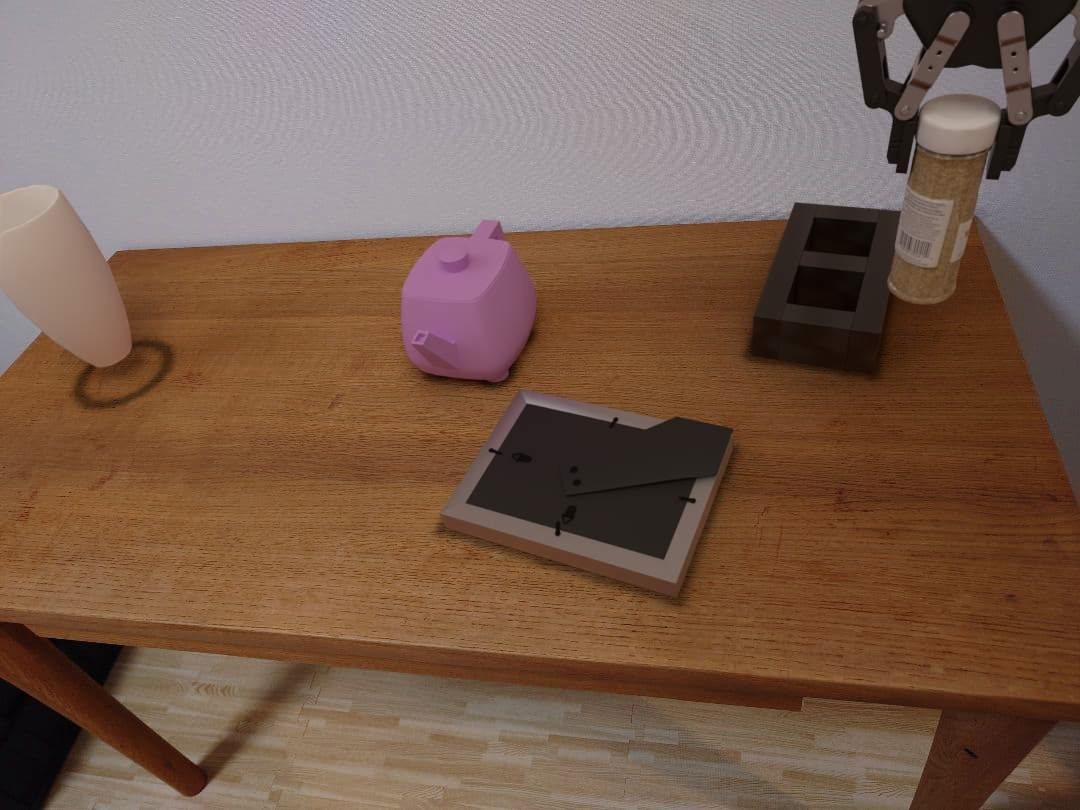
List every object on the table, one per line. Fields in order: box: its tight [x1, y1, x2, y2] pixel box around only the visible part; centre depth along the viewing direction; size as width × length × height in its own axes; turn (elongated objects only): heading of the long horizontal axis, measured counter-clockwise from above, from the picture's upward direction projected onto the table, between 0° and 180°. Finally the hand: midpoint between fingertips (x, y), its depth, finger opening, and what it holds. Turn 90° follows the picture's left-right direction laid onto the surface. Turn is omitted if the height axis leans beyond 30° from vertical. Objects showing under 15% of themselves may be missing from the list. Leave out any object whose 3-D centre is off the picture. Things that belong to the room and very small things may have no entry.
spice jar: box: [887, 93, 1002, 306], centre depth 53 cm, size 5×5×13 cm
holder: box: [751, 201, 901, 375], centre depth 81 cm, size 11×20×5 cm, turn 157°
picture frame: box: [439, 388, 734, 599], centre depth 69 cm, size 16×3×21 cm
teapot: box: [400, 219, 538, 383], centre depth 81 cm, size 20×12×13 cm, turn 161°
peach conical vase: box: [0, 184, 133, 368], centre depth 85 cm, size 10×10×22 cm
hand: (947, 169), depth 51 cm, fingers closed on spice jar, 4 cm apart
